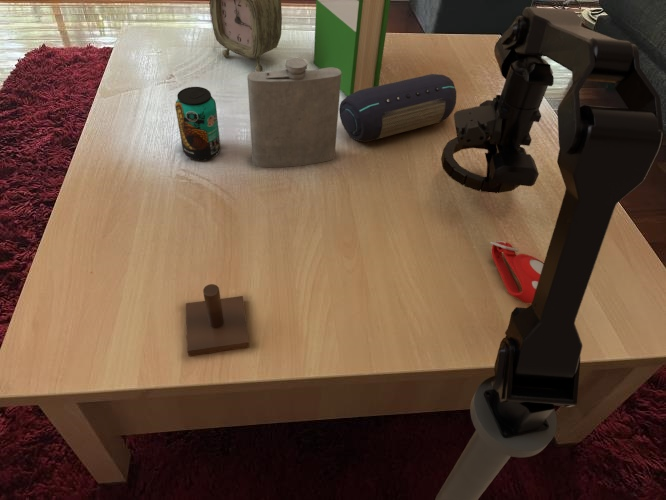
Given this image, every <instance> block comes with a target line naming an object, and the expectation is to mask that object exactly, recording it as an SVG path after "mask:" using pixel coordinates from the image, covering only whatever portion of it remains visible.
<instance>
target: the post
mask: <svg viewBox="0 0 666 500" xmlns="http://www.w3.org/2000/svg"><path fill="white" fill-rule="evenodd" d="M220 292H221V291H220V287H219V286H218V285H217V284H213V283H210V284H206V285H205V286H204V288H203V290H202V294H203V298H204V300H201V301H193V302H185V320H186V321H185V323H186V324H185V325H186V349H187V354H188V356H189V357H191V356H196V355H204V354H210V353H217V352H222V351H231V350H237V349H238V350H239V349H245V348H250V339H249V333H248V325H247V317H246V309H245V303H244V296H243V295H239V296H232V297H226V298H225V297H223V298H221V293H220Z"/></svg>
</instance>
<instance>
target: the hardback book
mask: <svg viewBox="0 0 666 500" xmlns="http://www.w3.org/2000/svg"><path fill="white" fill-rule="evenodd" d="M315 2H316V3H315V22H314V45H313V46H314V47H313V49H314V50H313V64H314V65H315V66H316V67H317V69H322V68H328V67H334V68H338V69H339V70H341V84H340V92H342V93H343V94H344V95H345V96H346V97H347V96H349V95H351V94H353V93H355V92H357V91H359V90H363V89H367V88H371V87H376V86H380V79H381V78H380V77H381V72H382V65H383V64H382V63H383V56H384V51H385V42H386V37H387V36H386V35H387V29H388V28H387V27H388V21H389V13H390V7H391V0H315Z"/></svg>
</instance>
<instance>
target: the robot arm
mask: <svg viewBox="0 0 666 500" xmlns="http://www.w3.org/2000/svg"><path fill="white" fill-rule="evenodd" d="M521 12H522V13H521V15H517V16H516V17H515V19H514V20H513V22H512V23H511V25H509V27H508V29H507V30H505V31H504V33H503V34H501V36H500V37H499V38H498V40H497V41H496V42H495V45H494V48H493V53H494V57H495V60H496V62H497V64H498V68H499V71H500V74H501V76H502V78H504V80H505V81H504V84H503V87H502V90H501V93H500V94H496V95H495V97H493V98H492V100H491V99H485V100H484V101H483V102H480V103H479V105H478V106H472V107H469V108H464V109H459V110H456V111H455V112H454V113H453V120H454V126H455V127H454V128H455V133H456V137H457V140H458V143H459V144H460V145H467V146H472V145H478V144H482V143H483V144H484V145H485V147H486V148H487V149H488V150H487V152H484V155H485V159H486V173H485V174H486V175H485V177H489V180H488V187H489V188H495V187H496V186H498V185H499V184H511V185H520V186H522V187H523V186H524V187H533V186H534V185H535V184H536V182H537V179H538V177H539V175H540V173H539V169H538V167H537V163H536V161H535V159H534V158H533V156H532V155H531V154H529V153H527V151H526V148H524V147H523V146H526V147H530V146H531V143H532V137H531V134H530V132H531V130H532V127H533V126H534V122H535V123H540V121H541V119H542V114H541V111H540V107H541V104H542V102H543V99H544V97H545V95H546V92H547V90H548V87H552V86H553V85H554V81H555V80H554V79H555V78H554V71H553V69H552V67H551V64H550V63H549V62H548V61H547V60H546V59H544V58H543V57H546V58H548V59H549V60H551V61H553V62H554V63H556V64H558V65H559V66H562V67H563V68H564V69H566V70H568V71H570V72H571V79H572V84H571V86H570V87H569V88H568V90H567V92H566V94H565V95H564V97H563V99H562V100H561V101H560V103H559V105H558V107H557V110H556V111H557V133H558V147H559V148H558V149H559V150H558V155H557V159H556V162H557V167H558V169H559V171H560V174H561V178H562V180H563V183H564V186H565V191H564V195H563V199H562V201H561V205H560V207H559V211H558V215H557V218H556V222H555V224H554V228H553V232H552V234H551V238H550V241H549V244H548V248H547V252H546V255H545V258H544V261H543V263H544V265H543V268H542V271H541V275H540V278H539V281H538V285H537V288H536V291H535V295H534V298H533V301H532V303H530V305H528V306H527V307H521V306H520V307H519V306H516V307H514V309H513V310H512V311H511V313H510V317H509V322H508V326H507V327H506V330H505V333H504V334H505V337H503V338H502V339H501V340H500V344H499V347H498V350H497V354H496V358H495V362H494V366H493V367H494V368H493V370H494V371H493V372H494V375H493V376H494V379H493V380H492V382H491V385H492V388H493V389H492V390H486V391H485V392H484V397H485V400H486V402H487V404H488V406H489V408H490V411H491V413H492V415H493V417H494V420H495V422H496V424H497V426H498V428H499V431H500V433H501V435H502V437H504V438H510V437H515V436H520V435H525V434H530V433H535V432H540V431H545V430H547V429H548V428H549V424H548V422H547V420H546V418H547V417H548V416H549V415H550V413H551V412H552V411H553V410H554V411H555V407H556V406H558V407H560V406H561V407H565V408H571V407H575V406H577V404H578V395H579V383H580V371H581V370H580V369H581V354H582V350H583V342H582V340H581V337H580V334H579V331H578V329H577V326H576V320H577V317H578V314H579V312H580V308H581V305H582V304H583V300H584V297H585V294H586V292H587V289H588V286H589V282H590V280H591V277H592V274H593V271H594V268H595V266H596V263H597V260H598V257H599V254H600V251H601V248H602V246H603V242H604V240H605V237H606V234H607V231H608V229H609V226H610V223H611V220H612V217H613V215H614V213H615V209H616V207H617V204H619V203H620V202H621V201H622V200H623V199H624V198H625V197H626V196H628V195H629V194H631V192H633V191H634V190H635V189H636V188H638V186H640V185H641V184H642V183H643V182H644V181H645V179H646V177H647V175H648V173H649V171H650V169H651V167H652V165H653V163H654V161H655V159H656V157H657V155H658V154H659V153H660V151H661V149H662V147H663V143H664V133H665V131H664V122H663V112H662V101H661V97H660V94H659V93H658V91H657V90H656V88H655V87H654V85H653V84H652V83H651V81H650V80H649V78H648V76H647V75H646V74H645V73H644V71H643V69H642V67H641V62H640V52H639V48H638V46H637V45H636V44H634V43H632V42H630V41H629V40H621V39H616V38H613V37H611V36H608V35H606V34H602V33H600V32H597V31H595V30H592V29H589V28H586V27H583V26H582V23H583V18H582V17H581V16H580V15H578V14H577V13H576V11H575V10H568V9H558V8H557V9H556V8H545V7H533V6H526V7H525V8H524V9H523V10H522V11H521ZM586 81H591V82H601V83H603V82H604V83H612V84H613V83H614V89H615V91H616V93H617V94H618V95H619V97H620V99H621V100H622V101H623V102H624V104H625V106H626V107H627V108H624V107H612V106H600V105H587V104H583V105H582V106H581V100H580V99H581V98H580V91H581V90H582V87H583V86H584V84H585V83H586ZM486 393H487V394H489V396H488V395H487V394H486ZM543 425H545V426H546V427H544V426H543ZM504 432H505V433H507V435H505V434H504Z"/></svg>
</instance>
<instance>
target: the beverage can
mask: <svg viewBox="0 0 666 500" xmlns="http://www.w3.org/2000/svg"><path fill="white" fill-rule="evenodd" d="M176 97H177V99H176V101H175V102H174V103H175V104H174V107H175V113H176V119H177V125H178V130H179V136H180V143H181V148H182V152H183V154H184V155H186V157H188V158H190V160H194V161H198V162H199V161H200V162H201V161H202V162H203V161H208V160H211V159H213V158H215V157H216V156H217V155H218V154H219V153H220V151H221V139H220V138H221V137H220V129H219V128H220V127H219V119H218V111H217V103H216V100H215V99H214V97H213V96H212V93H211V91H210V90H209V89H207V88H205V87H201V86H189V87H185V88H182V89H181V90H179V91H178V93H177V95H176Z"/></svg>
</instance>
